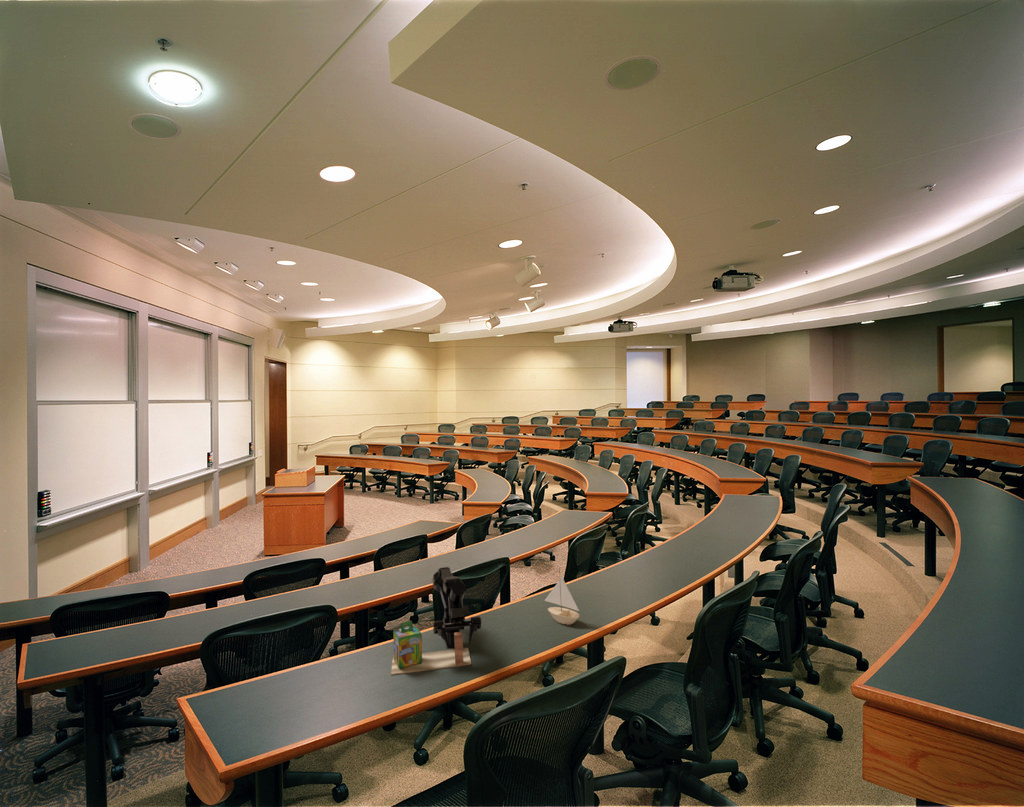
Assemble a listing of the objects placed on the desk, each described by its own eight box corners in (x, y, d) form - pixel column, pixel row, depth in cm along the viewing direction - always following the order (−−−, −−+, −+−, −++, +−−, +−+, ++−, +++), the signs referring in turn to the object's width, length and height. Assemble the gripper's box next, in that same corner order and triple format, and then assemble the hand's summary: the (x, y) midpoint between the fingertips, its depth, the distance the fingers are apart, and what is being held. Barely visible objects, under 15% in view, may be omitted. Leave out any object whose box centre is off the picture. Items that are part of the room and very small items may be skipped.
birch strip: (393, 658, 192) (392, 628, 193) (467, 648, 198) (466, 620, 199) (390, 675, 178) (390, 643, 179) (471, 664, 184) (470, 633, 185)
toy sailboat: (583, 568, 220) (571, 573, 214) (586, 624, 218) (574, 630, 212) (549, 561, 235) (537, 565, 229) (551, 613, 233) (539, 618, 227)
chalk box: (399, 669, 181) (398, 629, 182) (393, 660, 189) (392, 621, 190) (423, 663, 186) (422, 624, 186) (416, 654, 194) (415, 616, 195)
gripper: (432, 600, 188) (434, 641, 177) (480, 595, 192) (484, 635, 180) (432, 613, 196) (434, 653, 184) (478, 608, 199) (482, 647, 188)
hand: (459, 647), depth 184 cm, fingers open, 8 cm apart
